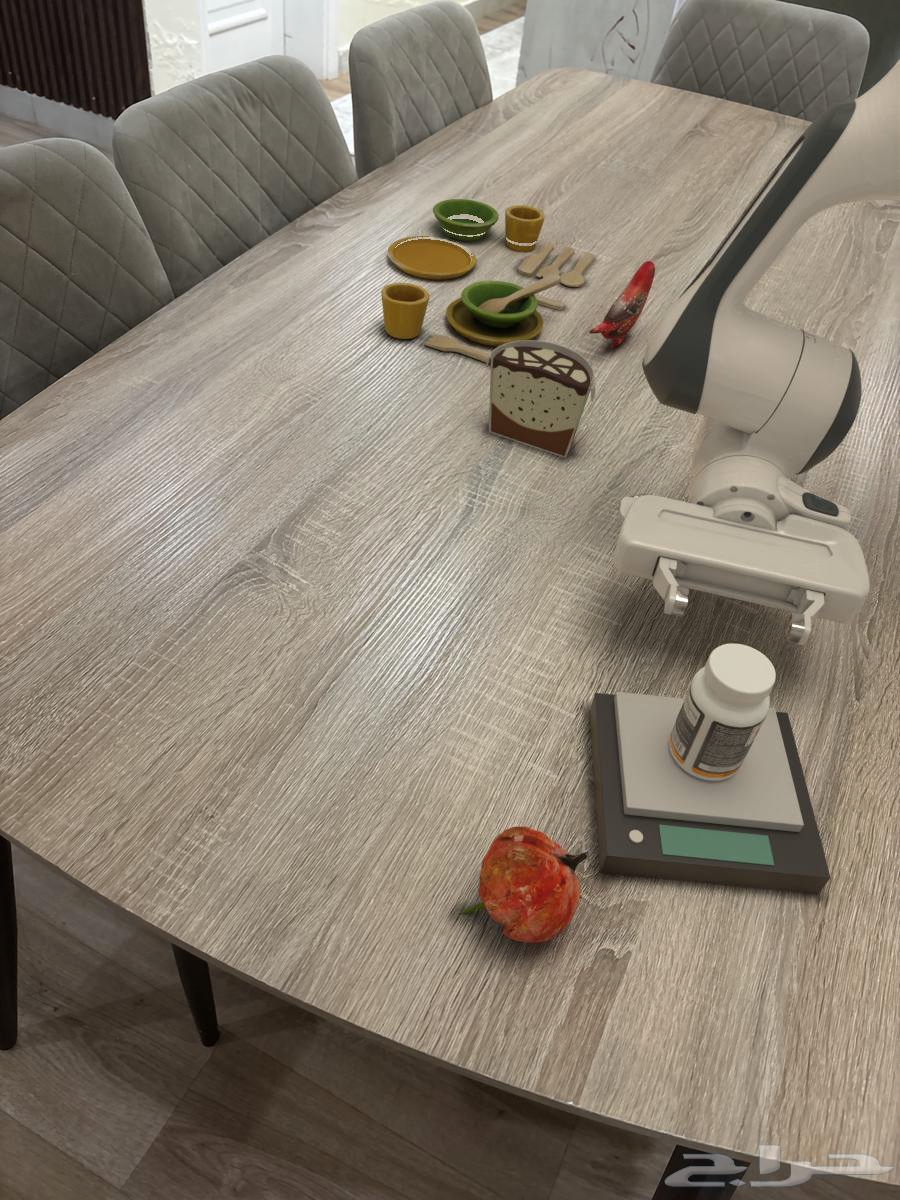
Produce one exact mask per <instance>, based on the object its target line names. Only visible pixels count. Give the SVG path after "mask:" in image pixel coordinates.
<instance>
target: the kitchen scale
mask: <svg viewBox="0 0 900 1200" xmlns="http://www.w3.org/2000/svg"><path fill="white" fill-rule="evenodd" d="M684 700H685V698H683V697H673V696H665V695H664V696H662V695H653V694H643V693H634V692H626V691H615V694H611V693H603V692H594V695H593V698H592V701H591V704H590V707H589V712H588V713H589V729H590V742H591V755H592V756H591V758H592V759H591V760H592V775H593V788H594V790H593V791H594V804H595V805H594V806H595V820H596V821H595V822H596V835H597V851H598V864H599V865H598V867H599V873H601V874H611V875H619V876H629V877H639V878H648V879H649V878H650V879H659V880H670V881H679V882H688V883H699V884H700V883H701V884H707V885H708V884H710V885H720V886H729V887H740V888H750V889H760V890H771V891H780V892H788V893H799V894H810V895H820V893H821V892H822V891H823V889H824V888H825V887H826V885H827V884H828V882H829V881H830V880H831V873H830V870H829V866H828V863H827V859H826V855H825V850H824V847H823V842H822V839H821V835H820V832H819V827H818V824H817V823H818V822H817V820H816V817H815V812H814V809H813V804H812V801H811V796H810V793H809V790H808V786H807V785H808V784H807V781H806V777H805V774H804V770H803V766H802V763H801V759H800V755H799V751H798V747H797V744H796V739H795V736H794V732H793V728H792V724H791V720H790V716H789V713H788V712H785V711H784V712H782V711H776V708H775V707H769V711H768V714H767V716H766V718H765V720H764V722H763V724H762V726H761V727H760V729H759V732H758V733H757V735H756V737H755V739H754V741H753V744H752V745H751V748H750V749H749V752H748V753H747V755H746V758H745V759H744V761H743V763H742V765H741V767H740V769H739V770H738V771H737V772H736V773H735V774H734V775H733V776H731V777H730V778H727V779H724V780H719V781H711V780H704V779H701V778H698V777H695V776H693V775H691V774H689V773H688V772H686V771H685V770H684V769H683V768H681V767H680V766H679V765H678V763H677V762H676V761H675V759H674V758H673V756H672V754H671V751H670V746H669V739H670V735H671V731H672V729H673V726H674V724H675V721H676V719H677V716H678V714H679V712H680V709H681V707H682V705H683V702H684Z"/></svg>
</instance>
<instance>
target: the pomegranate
mask: <svg viewBox="0 0 900 1200" xmlns="http://www.w3.org/2000/svg"><path fill="white" fill-rule="evenodd" d="M590 853H591V850H587V851H584V852H582V853H579V854H575V855H574V854H570V853H569V852H568V850H566V849H565V848H563V846H561V845H560V844H559V843H558V842H555V841H552V839H551V838H550V837H549V836H548V835H547V834H545V833H543V832H542V831H540V830H537V829H533V828H531V827H528V826H512V827H509V828H508V829H504V830H503V831H502V832H501V833H499V834H498V835H497V836H496V837H495V838H494V839H493V840H492V842H491V844H490V846H489V848H488V850H487V852H486V854H485V855H484V857H483V859H482V861H481V865H480V866H481V868H480V869H481V870H480V871H479V885H478V889H477V892H478V896H479V899H480V901H481V902H479V903H478V904H475V905H473V906H471V907H468V908H466V909H464V910H462V911H460V912H459V914H461V915H467V914H471V913H473V912H475V911H482V910H484V909H486V912H487V914H488V915H489V916H490V917H491V918H492V919H493V920H494V922H496V923H497V924H499V925H500V927H502V932H503V935H504V936H505V937H507V938H508V939H510V940H514V941H517V942H523V943H531V944H532V943H541V942H548V941H550V940H552V939H553V938H555V937H556V936H558V935H560V934H561V933H562V932H563V931H564V929H565V928H566V927H567V926H568V925H569V923H570V921H571V920H572V918H573V917H574V915H575V914H576V912H577V910H578V907H579V905H580V900H581V899H580V898H581V895H582V892H581V891H582V890H581V889H582V888H581V885H580V881H579V878H578V875H577V873H576V870H577V867H578V865H580V863H582V862H584V861H585V860H587V859H588V858H589V857H590Z"/></svg>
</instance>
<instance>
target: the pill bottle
mask: <svg viewBox="0 0 900 1200" xmlns="http://www.w3.org/2000/svg"><path fill="white" fill-rule="evenodd" d="M776 677H777V675H776V669H775V667H774V665H773V663H772V662H771V660H770V659H769V658H768V657H767V656H766V655H765V654H764V653H763V652H761V651H759V650H757V649H756V648H754V647H751V646H749V645H747V644H741V643H725V644H724V643H723V644H722V645H719V646H717V647H715V648H714V649H713V650H712V651H711V653H710V654H709V656H708V659H707V661H706V663H705V665H704V666H703V667H701V668H700V669H699V670H698V671H697V672H696V673H695V674H694V676H693V678H692V679H691V682H690V684H689V687H688V690H687V692H686V695H685V697H684V699H685V700H684V702H683V705H682V707H681V709H680V712H679V714H678V716H677V719H676V721H675V724H674V726H673V729H672V731H671V735H670V739H669V746H670V751H671V754H672V756H673V758H674V759H675V761H676V762H677V763H678V765H679V766H680V767H681V768H683V769H684V770H685V771H686V772H688V773H689V774H691V775H693V776H695V777H698V778H701V779H704V780H711V781H719V780H724V779H727V778H730V777H731V776H733V775H734V774H735V773H736V772H737V771H738V770H739V769H740V767H741V765H742V763H743V761H744V759H745V758H746V755H747V753H748V752H749V749H750V748H751V745H752V744H753V741H754V739H755V737H756V735H757V733H758V732H759V729H760V727H761V726H762V724H763V722H764V720H765V718H766V716H767V714H768V711H769V708H770V707H771V706H770V705H771V700H770V694H771V692H772V689H773V688H774V685H775V682H776V679H777V678H776Z"/></svg>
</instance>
